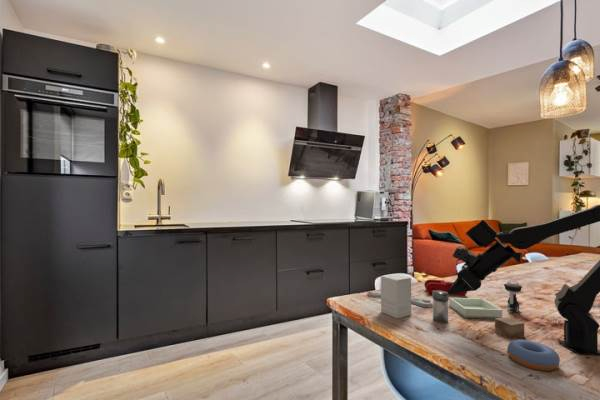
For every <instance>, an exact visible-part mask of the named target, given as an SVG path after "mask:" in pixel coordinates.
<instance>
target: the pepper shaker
mask: <svg viewBox="0 0 600 400" xmlns="http://www.w3.org/2000/svg"><path fill="white" fill-rule="evenodd" d="M431 296H432V303H433V307H432V320H433V321H434V322H437V323H441V324H446V323H448V322H449V298H450V295H449V294H448V292H445V291H439V290H435V291H433V295H431Z"/></svg>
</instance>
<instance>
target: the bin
mask: <svg viewBox="0 0 600 400" xmlns="http://www.w3.org/2000/svg"><path fill="white" fill-rule="evenodd" d="M448 307H450V308H452V309H453V311H456V313H458V314H459V315H460V316H462V317H463V318H465V319H484V318H487V320H489V319H491V320H492V319H494V320H495V319H496V318H503V309H502V308H499V307H498V306H497V305H495V304H492V302H489V301H488V300H486V299H484V298H476V297H475V298H469V297H466V298H465V297H449V300H448Z"/></svg>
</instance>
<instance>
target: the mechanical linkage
mask: <svg viewBox="0 0 600 400" xmlns="http://www.w3.org/2000/svg"><path fill="white" fill-rule="evenodd" d="M454 282H455V281H445V280H444V279H443V280H442V279H431V278H430V279H429V278H428V279H427V280H425V281H424V289H425V290H426V292H427V294H428V295H430V296H433V291H435V290H439V291H445V292H447V291H448V290H449V289H450V288H451V287H452V286H451V285H452V284H453V283H454ZM467 293H468V291H467V292H461V293H456V294H451V295H450V296H458V297H459V296H460V297H461V296H462V297H464V296H465V295H467Z"/></svg>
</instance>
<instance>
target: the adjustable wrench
mask: <svg viewBox="0 0 600 400" xmlns="http://www.w3.org/2000/svg"><path fill="white" fill-rule="evenodd" d="M366 296H367V297H373V298H379V299H381V292H380V293H379V292H374V291H373V292H372V291H368V292H366ZM411 305H416V306H418V307H422V308H433V302H431V300H430V299H425V298H421V297H419V298H418V297H417V298H412V297H411Z"/></svg>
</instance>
